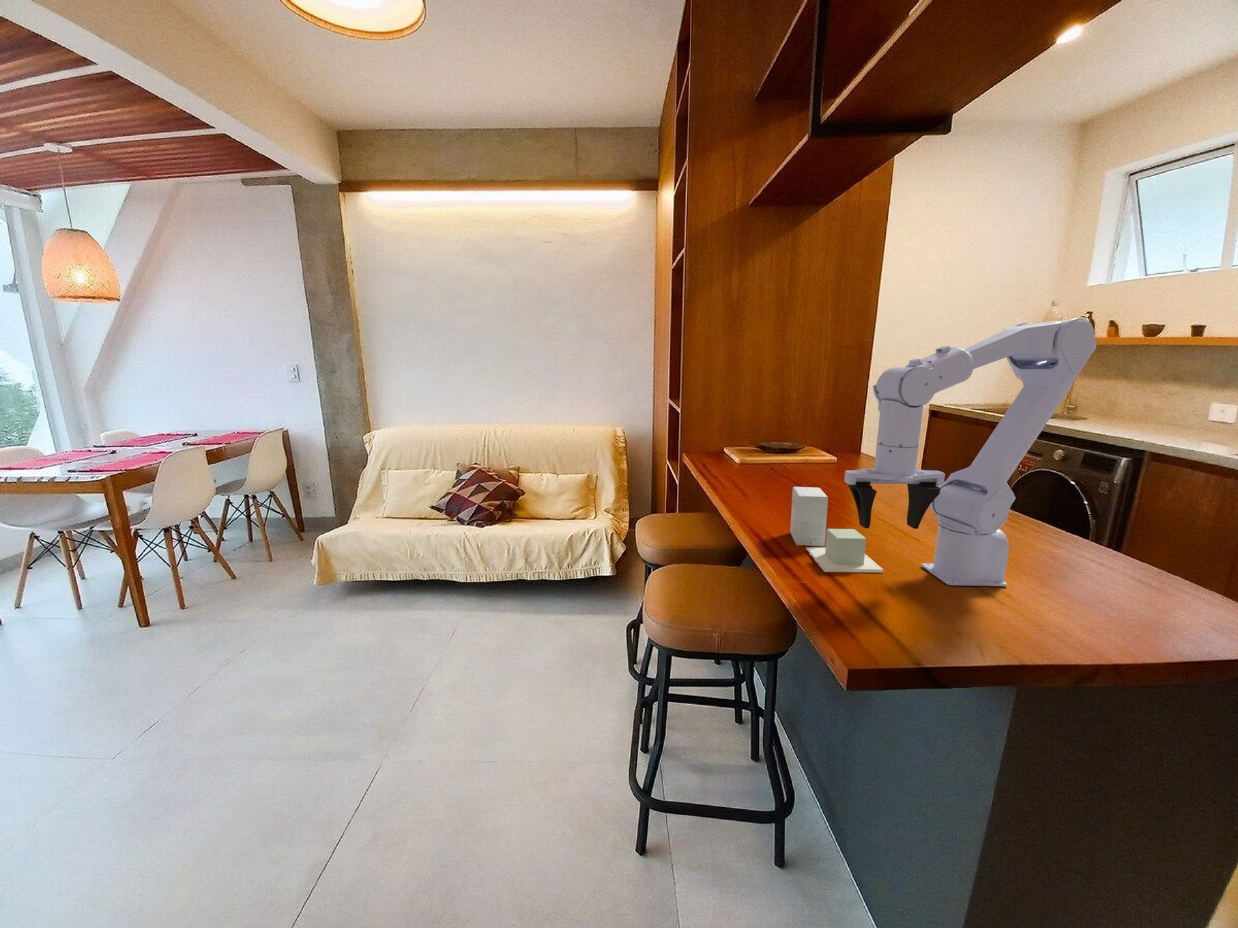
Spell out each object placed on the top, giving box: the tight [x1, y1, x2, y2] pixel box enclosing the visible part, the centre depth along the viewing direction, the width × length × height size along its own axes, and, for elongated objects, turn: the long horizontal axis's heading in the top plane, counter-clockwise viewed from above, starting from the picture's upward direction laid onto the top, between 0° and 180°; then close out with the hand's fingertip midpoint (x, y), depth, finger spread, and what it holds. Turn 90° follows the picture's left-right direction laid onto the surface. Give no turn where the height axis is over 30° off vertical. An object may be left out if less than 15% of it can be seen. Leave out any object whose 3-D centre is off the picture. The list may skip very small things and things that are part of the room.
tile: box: [805, 546, 884, 574], centre depth 88 cm, size 10×10×1 cm
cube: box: [825, 528, 867, 565], centre depth 87 cm, size 5×5×5 cm
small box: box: [789, 486, 829, 547], centre depth 98 cm, size 8×6×10 cm
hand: (888, 526), depth 77 cm, fingers open, 7 cm apart
